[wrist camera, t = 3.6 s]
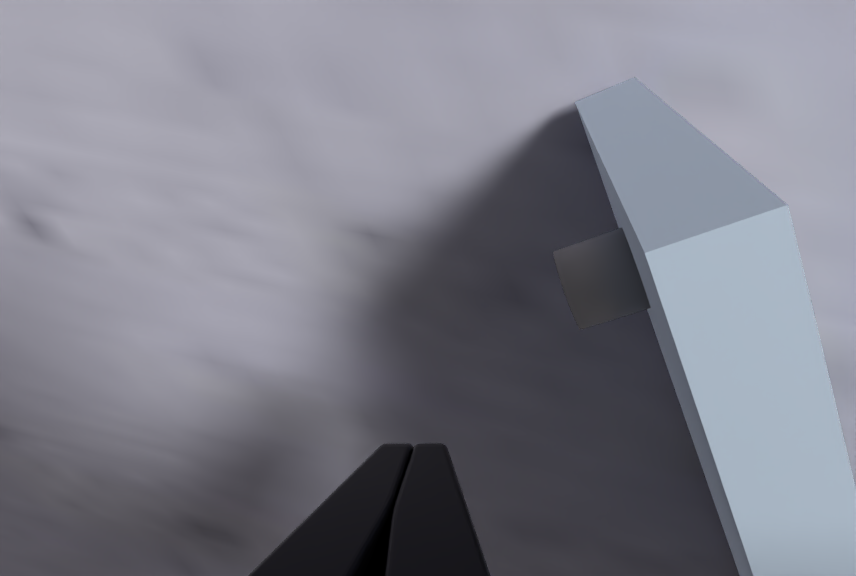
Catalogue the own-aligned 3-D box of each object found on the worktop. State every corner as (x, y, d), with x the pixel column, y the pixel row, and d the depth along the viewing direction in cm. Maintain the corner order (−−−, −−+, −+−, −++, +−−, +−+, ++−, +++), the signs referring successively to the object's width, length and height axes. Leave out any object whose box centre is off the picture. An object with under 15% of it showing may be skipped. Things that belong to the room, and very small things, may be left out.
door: (518, 125, 11) (517, 319, 5) (634, 76, 10) (812, 223, 4) (710, 624, 15) (841, 1065, 9) (799, 609, 15) (1003, 1068, 9)
